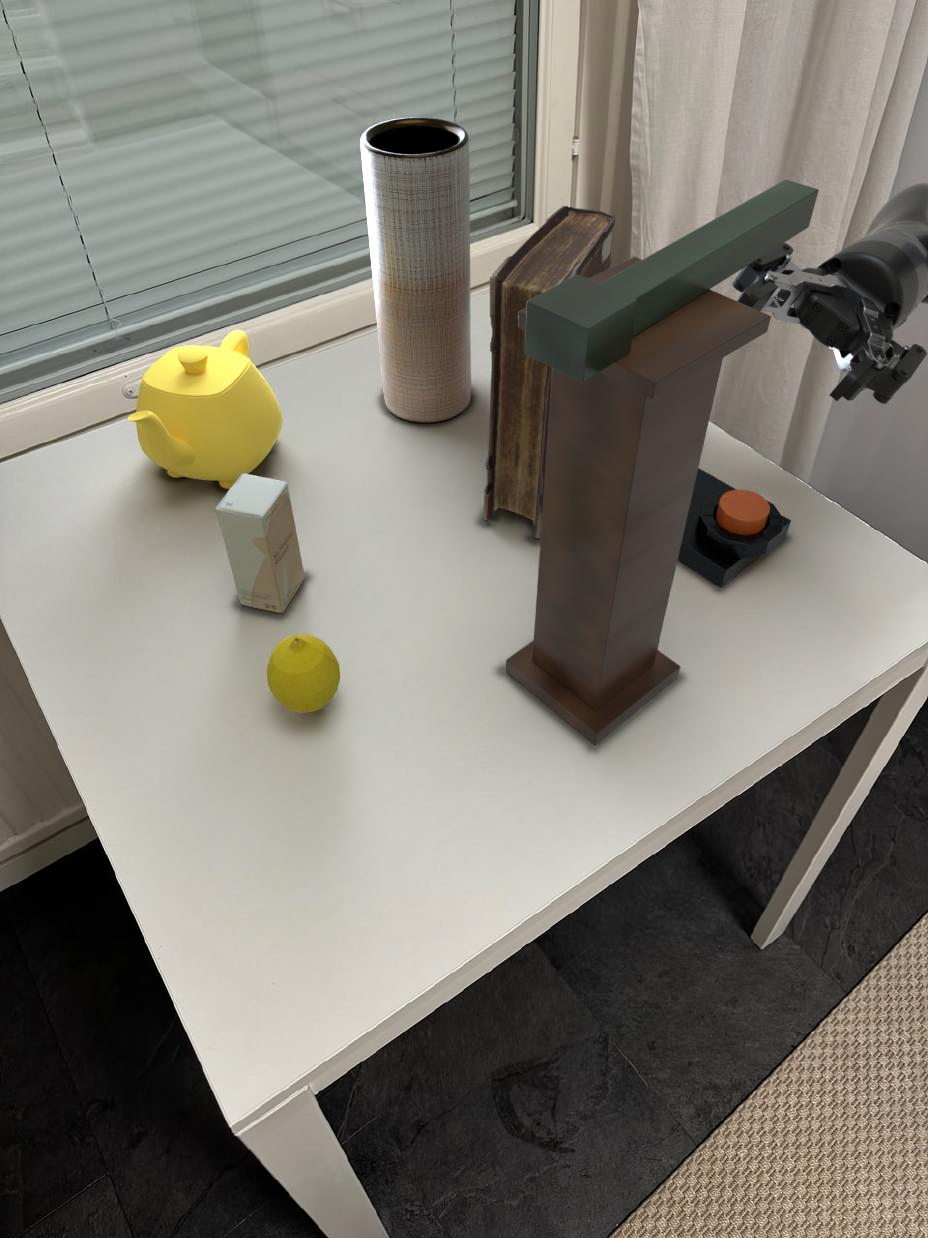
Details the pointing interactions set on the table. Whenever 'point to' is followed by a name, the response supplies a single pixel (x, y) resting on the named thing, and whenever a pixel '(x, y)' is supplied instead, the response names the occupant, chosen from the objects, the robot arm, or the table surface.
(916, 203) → the robot arm
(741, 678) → the table surface
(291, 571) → the box
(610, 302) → the rod
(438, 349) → the vase
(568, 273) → the book
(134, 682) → the table surface
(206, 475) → the teapot
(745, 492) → the button
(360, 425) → the table surface
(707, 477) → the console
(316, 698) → the fruit
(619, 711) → the pedestal
